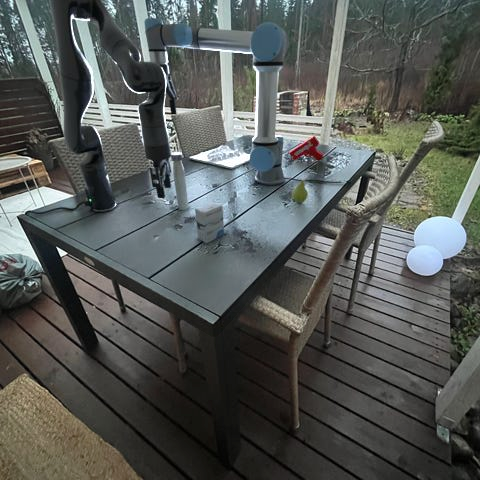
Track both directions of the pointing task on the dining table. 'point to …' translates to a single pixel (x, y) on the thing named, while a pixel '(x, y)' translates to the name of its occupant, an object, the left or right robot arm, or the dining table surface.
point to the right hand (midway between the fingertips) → (166, 116)
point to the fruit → (300, 192)
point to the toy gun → (307, 149)
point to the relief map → (223, 157)
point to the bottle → (180, 185)
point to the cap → (176, 156)
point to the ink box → (209, 221)
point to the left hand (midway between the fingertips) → (164, 192)
